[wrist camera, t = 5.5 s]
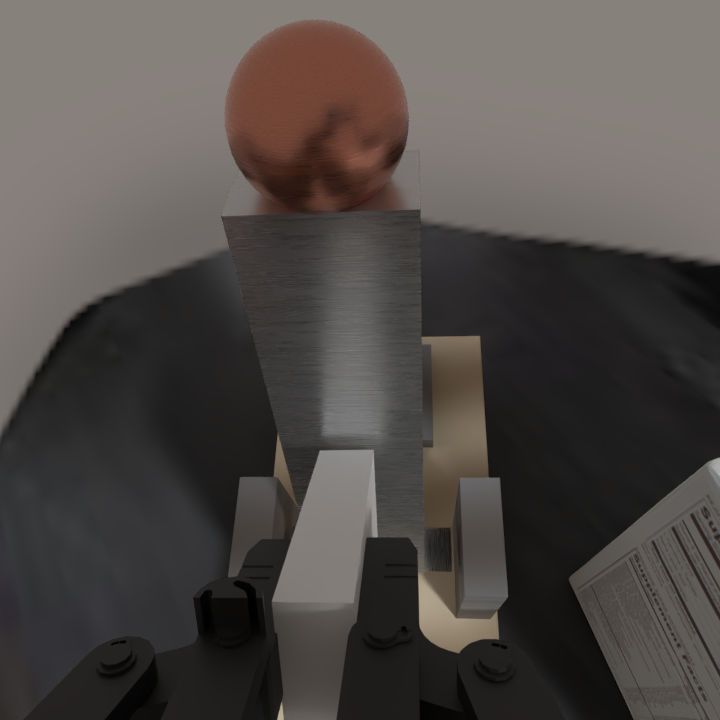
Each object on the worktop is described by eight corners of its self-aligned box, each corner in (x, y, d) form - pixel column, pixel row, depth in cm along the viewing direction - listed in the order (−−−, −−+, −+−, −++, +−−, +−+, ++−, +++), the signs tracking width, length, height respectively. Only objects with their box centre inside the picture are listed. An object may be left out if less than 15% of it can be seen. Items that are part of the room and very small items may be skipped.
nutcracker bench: (495, 740, 28) (530, 759, 19) (270, 731, 29) (198, 745, 20) (474, 371, 37) (491, 259, 27) (299, 373, 37) (258, 265, 28)
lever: (452, 605, 24) (483, 53, 10) (290, 601, 24) (110, 74, 11) (446, 483, 27) (464, -41, 14) (306, 482, 28) (189, -21, 14)
